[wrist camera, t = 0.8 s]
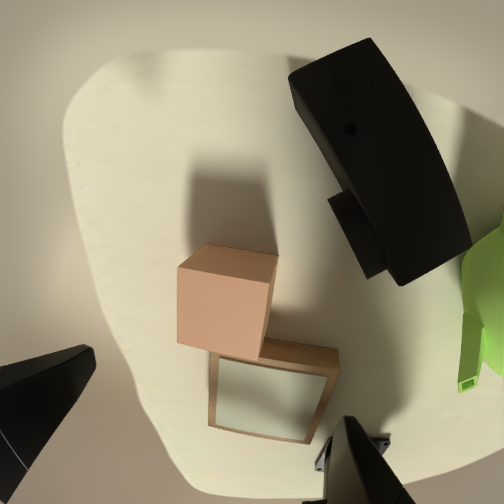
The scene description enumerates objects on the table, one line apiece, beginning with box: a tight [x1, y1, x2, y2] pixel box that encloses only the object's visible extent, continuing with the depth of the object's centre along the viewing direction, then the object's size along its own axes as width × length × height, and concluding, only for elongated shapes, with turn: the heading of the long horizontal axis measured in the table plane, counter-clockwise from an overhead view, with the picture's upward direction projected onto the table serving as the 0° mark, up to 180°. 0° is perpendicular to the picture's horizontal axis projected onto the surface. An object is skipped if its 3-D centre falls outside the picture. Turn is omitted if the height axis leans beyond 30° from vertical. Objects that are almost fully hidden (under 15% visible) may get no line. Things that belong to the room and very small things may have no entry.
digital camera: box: [288, 38, 473, 286], centre depth 14 cm, size 10×5×7 cm, turn 31°
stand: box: [208, 338, 340, 445], centre depth 22 cm, size 9×9×3 cm
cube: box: [177, 244, 279, 361], centre depth 19 cm, size 5×5×5 cm
